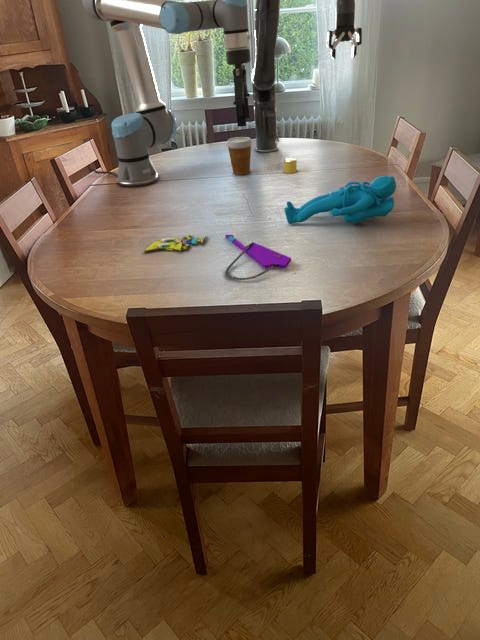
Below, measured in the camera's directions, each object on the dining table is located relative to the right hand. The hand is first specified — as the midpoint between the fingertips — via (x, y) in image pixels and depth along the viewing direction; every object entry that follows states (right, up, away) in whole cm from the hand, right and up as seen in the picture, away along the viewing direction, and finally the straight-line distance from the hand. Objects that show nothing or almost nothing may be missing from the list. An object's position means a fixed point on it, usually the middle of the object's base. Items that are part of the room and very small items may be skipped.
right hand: (343, 58), depth 199 cm
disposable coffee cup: (-42, -52, -16) cm, 69 cm away
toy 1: (-60, -88, -68) cm, 127 cm away
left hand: (-42, -43, -39) cm, 71 cm away
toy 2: (-15, -81, -63) cm, 104 cm away
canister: (-24, -53, -19) cm, 61 cm away
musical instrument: (-42, -94, -80) cm, 130 cm away
